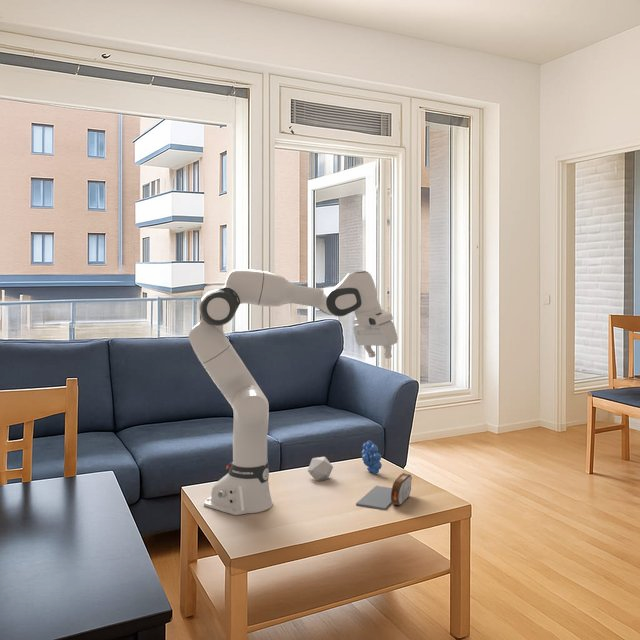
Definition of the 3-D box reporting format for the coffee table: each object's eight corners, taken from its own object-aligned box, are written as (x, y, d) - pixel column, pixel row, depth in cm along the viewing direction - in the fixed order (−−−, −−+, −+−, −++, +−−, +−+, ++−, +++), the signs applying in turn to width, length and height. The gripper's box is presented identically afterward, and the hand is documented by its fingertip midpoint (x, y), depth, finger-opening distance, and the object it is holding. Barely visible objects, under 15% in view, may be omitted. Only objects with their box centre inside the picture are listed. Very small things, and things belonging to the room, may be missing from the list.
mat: (356, 505, 202) (356, 503, 202) (376, 487, 219) (376, 485, 219) (385, 509, 198) (385, 508, 197) (403, 491, 215) (403, 489, 215)
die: (327, 475, 234) (311, 455, 234) (341, 469, 229) (325, 448, 229) (315, 488, 228) (299, 468, 228) (329, 482, 223) (313, 461, 223)
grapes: (353, 470, 239) (353, 439, 238) (368, 467, 242) (368, 437, 241) (370, 478, 229) (370, 446, 228) (385, 475, 232) (385, 444, 231)
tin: (404, 493, 213) (404, 469, 212) (413, 494, 211) (413, 470, 211) (389, 508, 199) (389, 482, 199) (399, 509, 198) (399, 483, 197)
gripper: (345, 321, 213) (356, 359, 215) (379, 319, 195) (390, 361, 197) (360, 315, 216) (370, 353, 218) (395, 314, 198) (405, 355, 200)
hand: (380, 357), depth 207 cm, fingers open, 8 cm apart
